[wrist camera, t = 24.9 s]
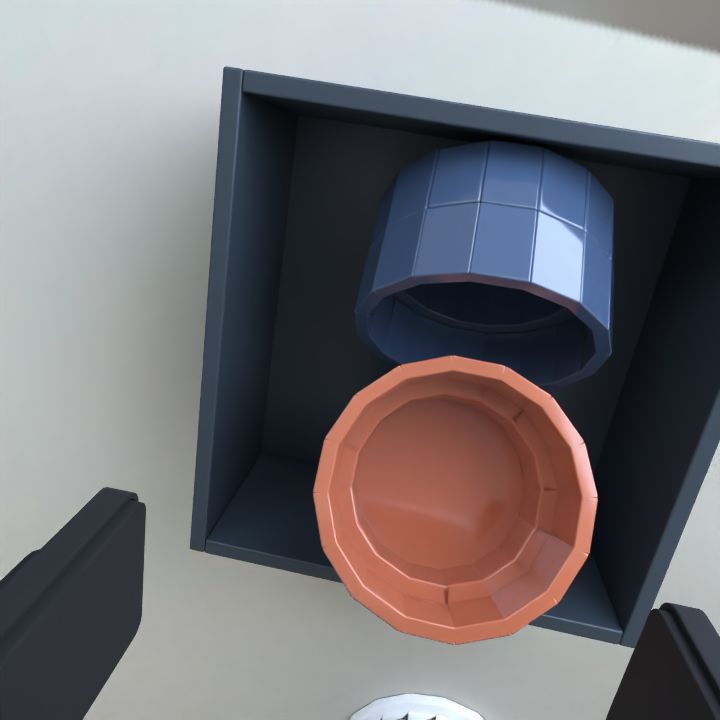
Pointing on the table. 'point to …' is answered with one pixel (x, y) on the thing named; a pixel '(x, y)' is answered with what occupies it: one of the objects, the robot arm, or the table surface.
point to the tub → (361, 367)
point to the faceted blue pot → (493, 263)
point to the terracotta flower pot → (455, 499)
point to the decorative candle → (415, 709)
